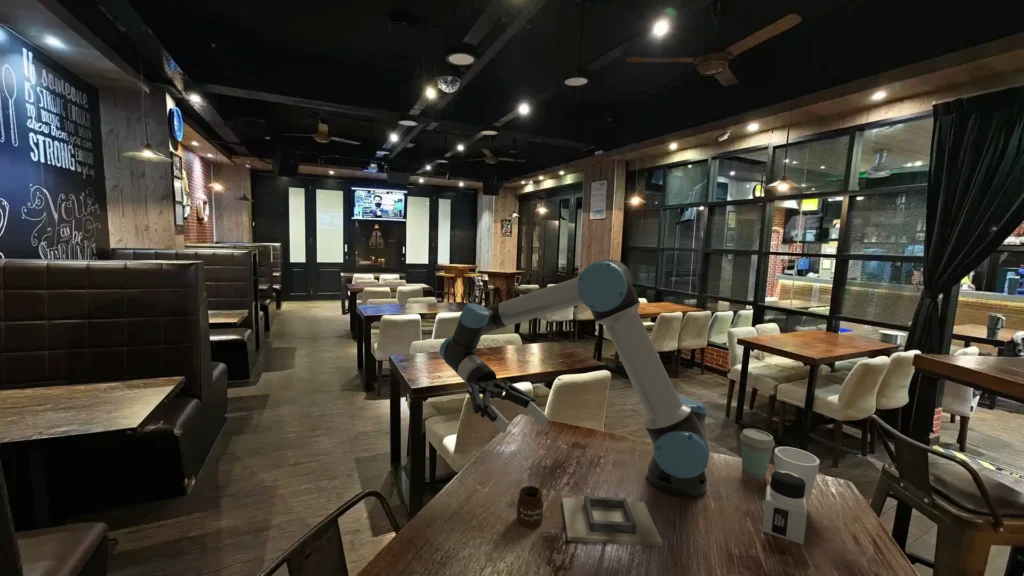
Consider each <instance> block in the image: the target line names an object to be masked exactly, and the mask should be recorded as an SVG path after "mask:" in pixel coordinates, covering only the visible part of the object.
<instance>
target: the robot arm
mask: <svg viewBox="0 0 1024 576" xmlns="http://www.w3.org/2000/svg"><path fill="white" fill-rule="evenodd" d="M580 305H585V306H586V307H587V308H588V309H589V310H590V313H591V314H592V317H593V318H594V320H595V323H598V324H600V325H602V326H604V327H605V329H606V331H607V333H608V335H609V338H610V340H611V342H612V344H613V347H614V349H615V350H616V352H617V354H618V357H619V359H620V361H621V364H622V366H623V368H624V370H625V372H626V374H627V376H628V378H629V381H630V383H631V385H632V386H633V389H634V391H635V393H636V395H637V397H638V399H639V402H640V404H641V406H642V408H643V410H644V412H645V414H646V417H645V420H644V422H643V423H644V424H643V425H644V427H645V429H646V432H647V434H648V436H649V437H650V440H651V442H652V444H653V455H652V457H651V459H650V460H649V464H648V466H647V469H646V470H647V472H646V476H647V477H646V478H647V479H648V482H649V483H650V484H651V485H653V487H655V488H656V489H657V490H660V491H661V492H664V493H666V494H669V495H671V496H672V495H673V496H676V497H681V498H695V497H701V496H702V495H704V494H705V493H706V492H707V488H708V487H707V486H708V478H707V474H706V471H705V470H706V468H707V466H708V463H709V459H710V452H711V451H710V448H709V446H708V440H707V433H706V416H707V407H706V404H704V403H703V402H701V401H699V400H696V399H692V398H688V397H684V396H683V397H681V396H679V395H678V392H677V391H676V389H675V387H674V385H673V383H672V381H671V379H670V377H669V375H668V373H667V371H666V368H665V367H664V364H663V362H662V360H661V358H660V356H659V354H658V352H657V350H656V347H655V346H654V344H653V341H652V339H651V337H650V335H649V333H648V331H647V329H646V327H645V324H644V323H643V320H642V319H641V317H640V314H639V307H640V305H641V301H640V299H639V297H638V295H637V292H636V291H635V289H634V287H633V276H632V273H631V271H630V269H629V268H628V267H627V266H626V265H625V264H624V263H622V262H621V261H619V260H616V259H599V260H596V261H594V262H592V263H591V264H589V265H587V266H586V267H585V268H584V269H583V270H582V271H581V272H578V275H577V277H574V278H572V279H568V280H565V281H562V282H559V283H556V284H554V285H550V286H547V287H544V288H541V289H537V290H536V291H535V290H534V291H532V292H528V293H526V294H523V295H520V296H517V297H514V298H511V299H507V300H504V301H501V302H499V303H495V304H491V305H489V306H488V305H487V306H486V307H484V306H483V305H480V304H477V303H472V302H471V303H467V304H465V305H464V306H463V309H462V311H461V313H460V314H459V319H458V321H457V325H456V327H455V330H454V333H453V335H452V336H449V337H447V338H446V339H445V340H444V341H443V342H442V343H441V345H440V346H439V353H440V357H442V359H443V360H444V362H445V364H447V365H448V366H449V367H450V368H451V369H452V370H453V371H454V372H455V373H456V374H457V375H458V377H460V379H461V380H462V381H463V382H464V383H465V384H466V385H467V386H468V387H467V389H466V393H467V394H468V396H469V397H470V398H469V399H470V402H471V406H472V409H473V413H474V414H479V417H481V418H485V417H487V418H488V420H489V421H490V422H492V423H493V424H494V425H495V426H496V427H497V428H498V429H499V431H500V432H501V433H503V434H505V433H506V431H507V429H508V427H509V425H510V422H509V420H508V419H506V418H505V417H504V416H503V414H502V413H501V412H500V411H499V410H498V409H497V408H496V407H495V406H494V405H491V404H490V403H491V400H492V399H493V400H494V399H500V400H502V401H508V402H511V403H513V404H515V405H518V406H520V407H522V408H524V409H526V410H525V411H526V412H527V414H529V415H530V416H531V417H532V418H533V419H534V420H536V422H537V423H538V424H539V425H540V426H541V427H544V426H545V425H546V424H547V421H548V419H549V416H548V415H547V414H546V413H545V412H544V411H543V410H541V409H540V407H538V406H537V405H536V402H537V398H536V397H535V396H533V395H531V394H530V393H527V391H524V390H522V389H520V388H519V387H517V386H516V385H514V384H512V383H511V382H510V381H508V380H505V381H504V383H502V382H501V381H499V380H498V377H497V373H496V371H494V369H492V368H491V367H490V366H489V365H488V364H487V363H486V362H485V361H484V360H483V359H481V358H480V356H478V354H476V350H477V348H478V346H479V342H480V341H481V339H482V336H484V335H486V334H489V333H491V332H494V331H496V330H500V329H502V328H503V329H504V328H506V327H509V326H513V325H517V324H520V323H523V322H525V321H530V320H532V319H536V318H539V317H543V316H546V315H550V314H553V313H557V312H560V311H563V310H567V309H570V308H573V307H576V306H580ZM503 394H504V395H503ZM481 395H482V399H481Z"/></svg>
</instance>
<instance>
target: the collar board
mask: <svg viewBox="0 0 1024 576" xmlns="http://www.w3.org/2000/svg"><path fill="white" fill-rule="evenodd" d="M561 503H562V509H563V516H564V524H565V532H566V537H567V538H566V539H567V541H569V542H582V543H583V542H585V543H598V542H599V543H600V544H601V543H602V544H616V543H617V544H619V545H632V546H633V545H636V546H637V545H638V546H650V547H651V546H652V547H653V546H655V547H656V546H657V547H662V546H663V540H662V538H661V535H660V534H659V531H658V529H657V527H656V524H655V523H654V521H653V519H652V516H651V514H650V512H649V510H648V508H647V505H646V504H645V502H644V501H630V500H627V498H626V497H613V496H612V497H610V496H609V497H608V496H594V495H593V496H592V495H584V497H583V498H574V497H562V498H561Z"/></svg>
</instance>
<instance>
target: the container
mask: <svg viewBox="0 0 1024 576" xmlns="http://www.w3.org/2000/svg"><path fill="white" fill-rule="evenodd" d="M770 474H771V475H770V483H769V485H767V486H766V489H765V490H766V491H765V497H764V509H763V518H762V519H763V522H762V531H763V532H764V533H765V534H769V535H773V536H776V537H778V538H782V539H785V540H787V541H790V542H793V543H796V544H799V545H804V544H805V536H806V535H805V534H806V528H807V519H808V505H807V506H806V497H805V496H804V494H805V485H806V483H805V482H804V480H803V479H802V478H801V477H799V476H797V475H796V474H793V473H791V472H787V471H775V470H774V471H773V472H772V473H770Z"/></svg>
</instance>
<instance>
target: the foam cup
mask: <svg viewBox="0 0 1024 576" xmlns="http://www.w3.org/2000/svg"><path fill="white" fill-rule="evenodd" d="M773 461H774V471H787V472H791V473H793V474H796V475H797V476H799V477H801V478H802V479H803V480H804V482H805V483H806V485H805V494H804V496H805V497H806V506H807V507H808V504H809V501H810V498H811V494H812V492H813V488H814V485H815V481H816V478H817V474H819V469H820V461H821V460H820V459H819V458H818V457H817V456H816V455H814V454H812V453H810V452H808V451H806V450H803V449H799V448H796V447H791V446H778V447H775V448H774V454H773Z"/></svg>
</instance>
